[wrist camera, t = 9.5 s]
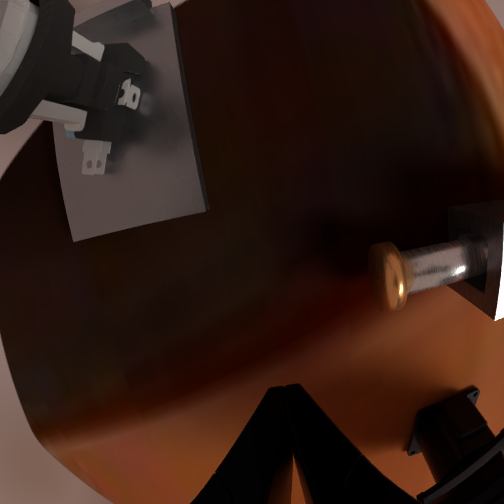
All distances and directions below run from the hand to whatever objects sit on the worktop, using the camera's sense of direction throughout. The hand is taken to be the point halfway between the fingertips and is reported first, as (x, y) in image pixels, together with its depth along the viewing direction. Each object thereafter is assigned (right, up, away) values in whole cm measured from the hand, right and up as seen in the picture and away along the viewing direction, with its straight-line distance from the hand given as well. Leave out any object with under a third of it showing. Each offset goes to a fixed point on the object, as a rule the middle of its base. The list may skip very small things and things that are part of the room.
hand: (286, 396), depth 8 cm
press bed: (-8, +11, +7) cm, 15 cm away
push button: (-8, +11, +6) cm, 15 cm away
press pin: (+10, +4, +7) cm, 13 cm away
